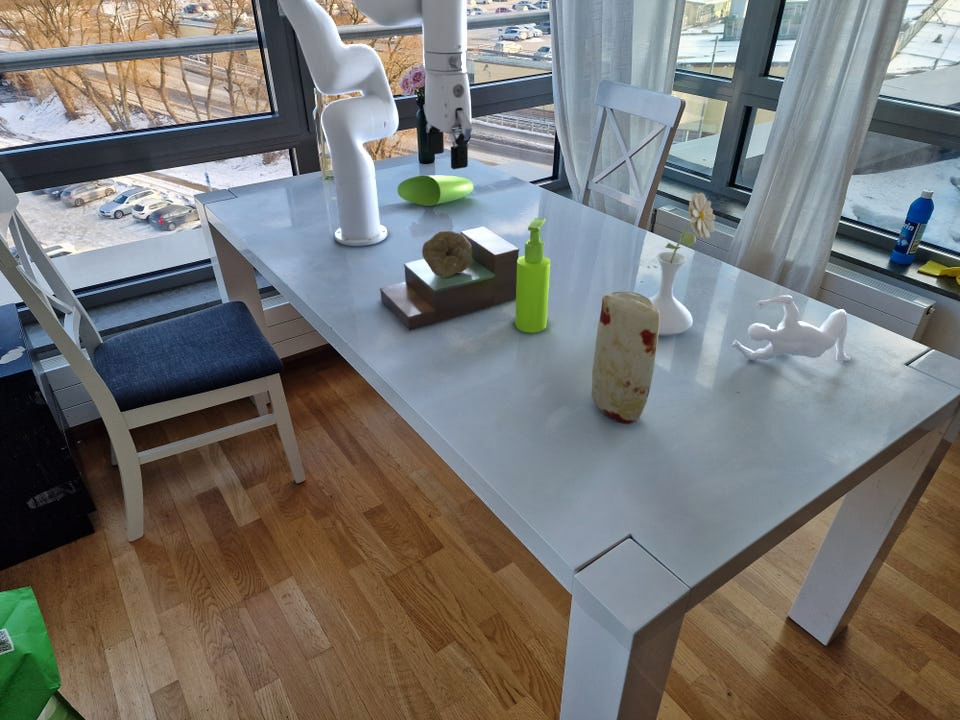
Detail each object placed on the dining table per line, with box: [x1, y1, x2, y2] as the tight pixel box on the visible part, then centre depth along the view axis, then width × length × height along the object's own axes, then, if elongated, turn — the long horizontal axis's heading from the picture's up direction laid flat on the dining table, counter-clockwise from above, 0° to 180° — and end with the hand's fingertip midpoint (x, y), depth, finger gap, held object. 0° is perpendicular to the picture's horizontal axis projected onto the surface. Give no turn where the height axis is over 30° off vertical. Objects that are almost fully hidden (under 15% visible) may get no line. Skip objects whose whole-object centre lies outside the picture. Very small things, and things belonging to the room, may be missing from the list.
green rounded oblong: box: [396, 175, 474, 206], centre depth 173 cm, size 8×12×20 cm
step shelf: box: [379, 225, 520, 331], centre depth 124 cm, size 13×24×11 cm, turn 121°
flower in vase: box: [647, 192, 716, 336], centre depth 112 cm, size 13×11×25 cm
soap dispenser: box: [514, 217, 551, 334], centre depth 114 cm, size 6×7×20 cm
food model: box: [590, 291, 660, 425], centre depth 91 cm, size 10×7×20 cm
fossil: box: [421, 230, 472, 278], centre depth 122 cm, size 9×4×10 cm
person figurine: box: [731, 295, 852, 362], centre depth 106 cm, size 13×13×18 cm
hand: (447, 160), depth 119 cm, fingers open, 9 cm apart
